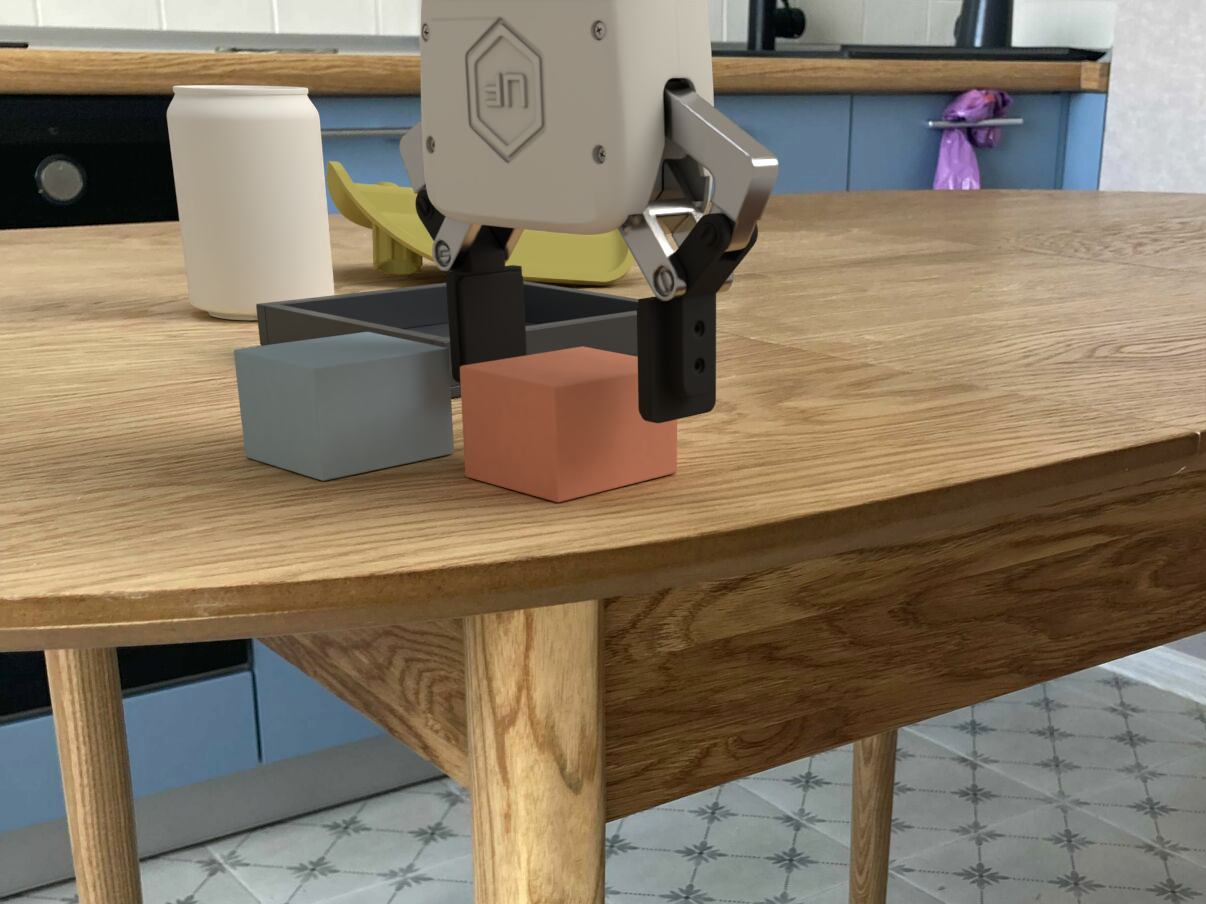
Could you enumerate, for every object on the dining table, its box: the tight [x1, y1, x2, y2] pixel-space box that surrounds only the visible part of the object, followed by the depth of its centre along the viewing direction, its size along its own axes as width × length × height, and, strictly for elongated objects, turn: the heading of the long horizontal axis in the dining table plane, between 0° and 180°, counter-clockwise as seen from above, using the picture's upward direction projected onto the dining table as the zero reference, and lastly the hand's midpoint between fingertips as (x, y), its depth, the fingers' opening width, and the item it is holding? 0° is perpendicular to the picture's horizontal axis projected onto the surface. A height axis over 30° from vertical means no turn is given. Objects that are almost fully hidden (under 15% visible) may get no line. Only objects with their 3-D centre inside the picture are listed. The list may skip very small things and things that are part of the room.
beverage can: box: [166, 84, 336, 321], centre depth 87 cm, size 8×8×12 cm
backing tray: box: [256, 281, 639, 399], centre depth 78 cm, size 15×16×2 cm
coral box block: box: [460, 346, 678, 503], centre depth 56 cm, size 5×6×4 cm
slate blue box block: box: [233, 332, 455, 482], centre depth 58 cm, size 5×6×4 cm
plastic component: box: [325, 160, 635, 287], centre depth 104 cm, size 20×7×10 cm
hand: (579, 396), depth 55 cm, fingers open, 9 cm apart
